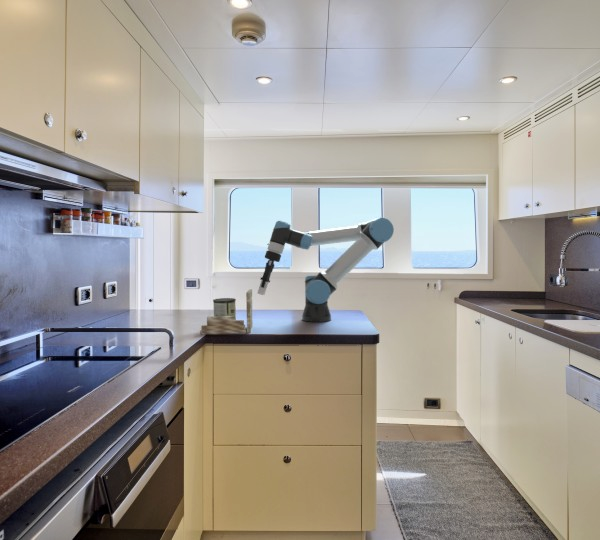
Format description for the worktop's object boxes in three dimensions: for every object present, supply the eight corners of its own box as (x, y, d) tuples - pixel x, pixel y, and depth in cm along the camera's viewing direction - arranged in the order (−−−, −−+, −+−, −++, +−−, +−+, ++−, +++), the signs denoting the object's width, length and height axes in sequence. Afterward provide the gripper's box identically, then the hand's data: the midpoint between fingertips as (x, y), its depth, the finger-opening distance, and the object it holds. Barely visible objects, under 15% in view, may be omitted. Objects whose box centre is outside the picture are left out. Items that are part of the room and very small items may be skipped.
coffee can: (217, 327, 199) (216, 297, 198) (238, 327, 198) (238, 298, 197) (210, 331, 188) (210, 300, 188) (232, 331, 187) (232, 300, 187)
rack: (252, 326, 199) (252, 289, 198) (250, 333, 183) (249, 292, 182) (206, 327, 198) (205, 290, 197) (200, 334, 182) (199, 293, 181)
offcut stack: (245, 329, 185) (244, 315, 185) (244, 329, 183) (244, 316, 183) (202, 329, 184) (201, 316, 184) (201, 330, 182) (201, 317, 182)
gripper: (268, 252, 213) (255, 291, 212) (265, 247, 188) (251, 291, 187) (281, 256, 213) (269, 296, 212) (281, 252, 188) (267, 296, 187)
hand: (260, 294), depth 199 cm, fingers open, 13 cm apart
